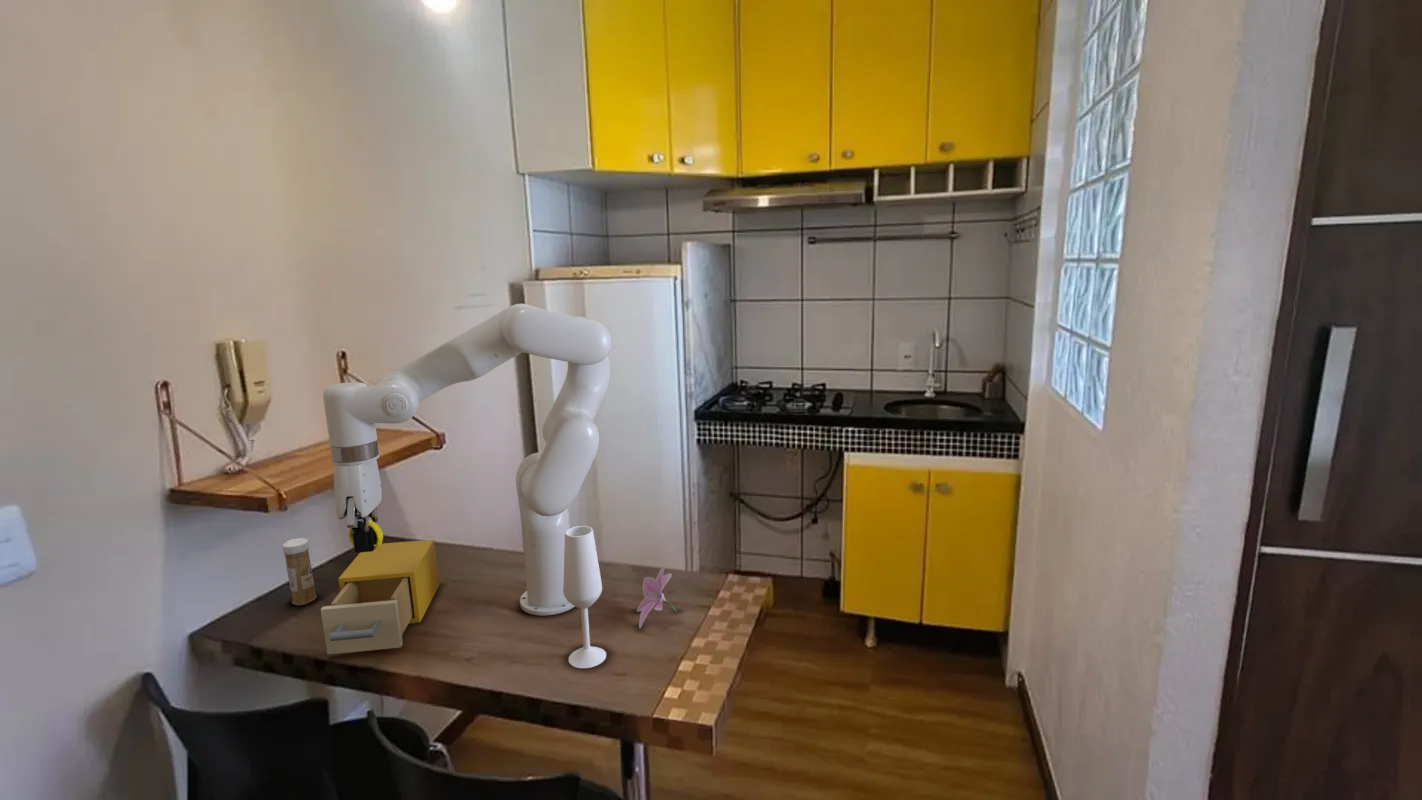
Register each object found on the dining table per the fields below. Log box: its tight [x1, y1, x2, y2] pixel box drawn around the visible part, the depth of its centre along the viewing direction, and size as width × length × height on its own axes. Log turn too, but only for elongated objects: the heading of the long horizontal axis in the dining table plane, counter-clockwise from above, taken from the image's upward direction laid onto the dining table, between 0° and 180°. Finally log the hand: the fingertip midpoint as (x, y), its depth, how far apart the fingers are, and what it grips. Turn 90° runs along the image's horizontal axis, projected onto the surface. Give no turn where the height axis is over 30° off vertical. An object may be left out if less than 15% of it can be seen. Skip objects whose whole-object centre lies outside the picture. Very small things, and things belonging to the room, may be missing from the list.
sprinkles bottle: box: [282, 537, 317, 607], centre depth 141 cm, size 5×5×14 cm
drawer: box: [320, 577, 414, 655], centre depth 126 cm, size 19×13×9 cm, turn 9°
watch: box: [348, 517, 384, 550], centre depth 124 cm, size 6×3×6 cm, turn 82°
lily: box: [636, 564, 677, 629], centre depth 133 cm, size 12×12×10 cm
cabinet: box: [338, 539, 440, 625], centre depth 139 cm, size 16×14×11 cm
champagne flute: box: [563, 525, 607, 669], centre depth 118 cm, size 7×7×24 cm
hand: (367, 547), depth 124 cm, fingers closed on watch, 2 cm apart
